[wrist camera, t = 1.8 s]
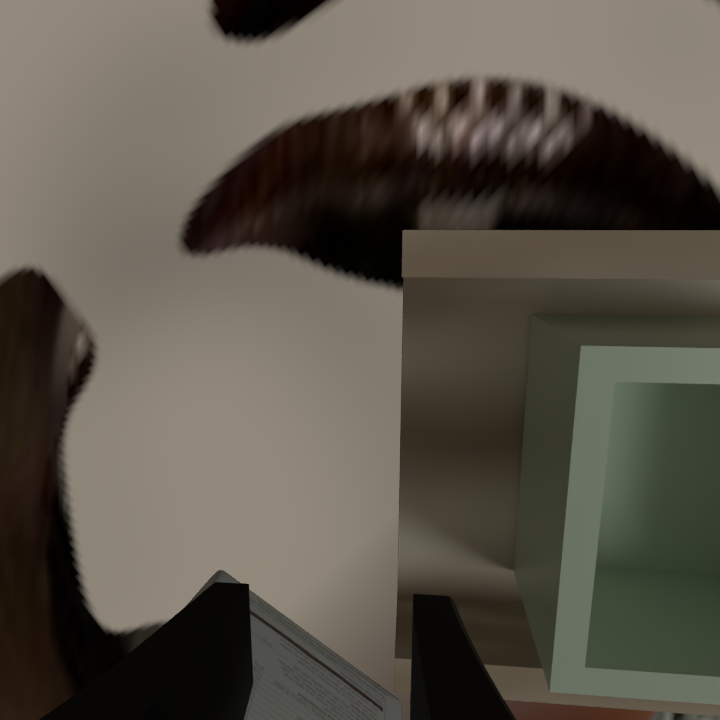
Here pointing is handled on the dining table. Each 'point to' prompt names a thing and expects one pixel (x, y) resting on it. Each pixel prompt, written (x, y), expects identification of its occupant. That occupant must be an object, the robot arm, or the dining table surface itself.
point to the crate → (623, 505)
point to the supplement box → (304, 673)
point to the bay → (506, 412)
